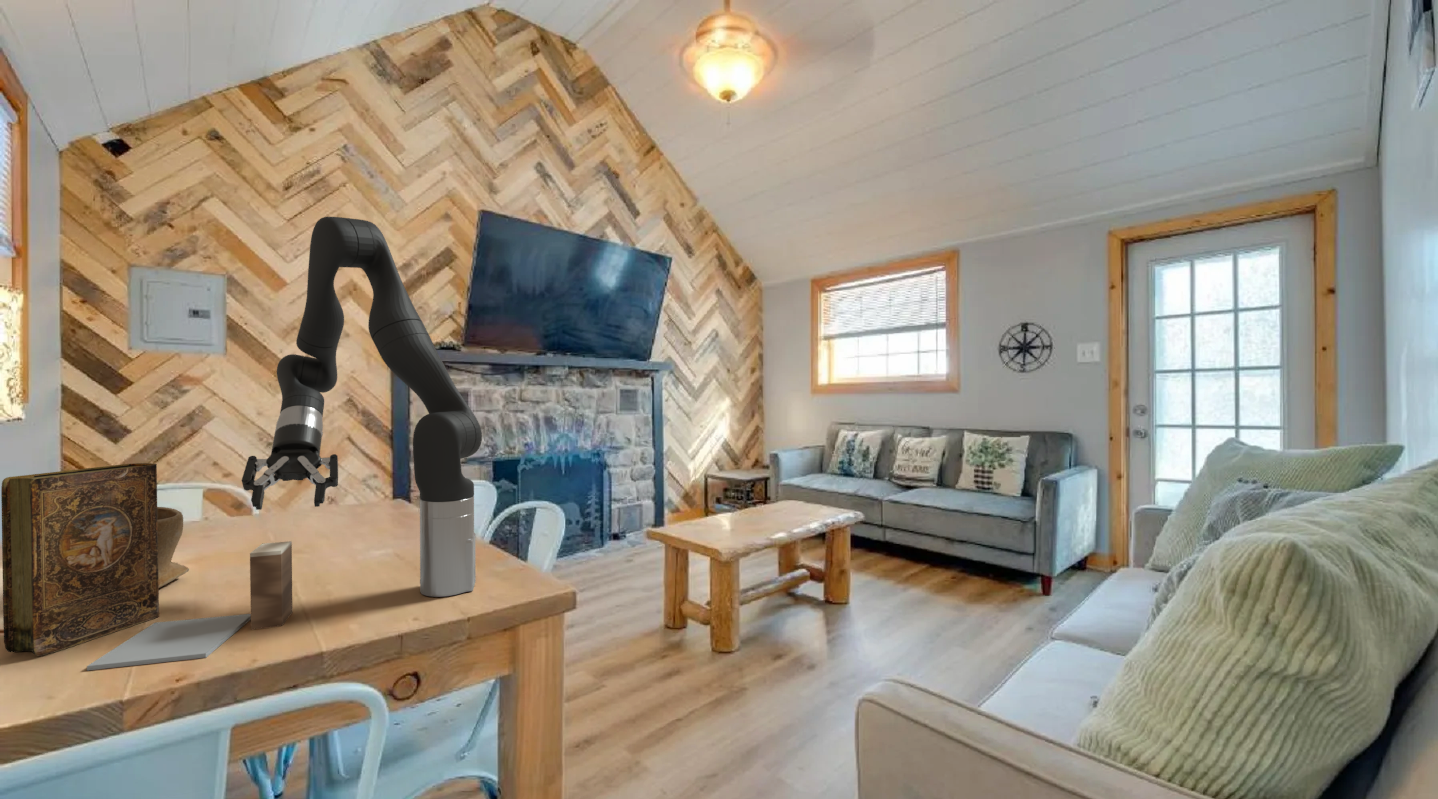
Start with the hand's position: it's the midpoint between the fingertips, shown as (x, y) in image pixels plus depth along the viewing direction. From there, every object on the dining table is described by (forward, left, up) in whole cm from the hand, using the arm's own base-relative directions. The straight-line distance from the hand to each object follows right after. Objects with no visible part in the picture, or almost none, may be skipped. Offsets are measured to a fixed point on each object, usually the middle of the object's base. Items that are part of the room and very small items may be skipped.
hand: (288, 505), depth 106 cm
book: (+23, +9, -17) cm, 30 cm away
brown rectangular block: (-1, +11, -17) cm, 20 cm away
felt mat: (+9, +16, -17) cm, 25 cm away
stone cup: (+27, -13, -17) cm, 34 cm away
